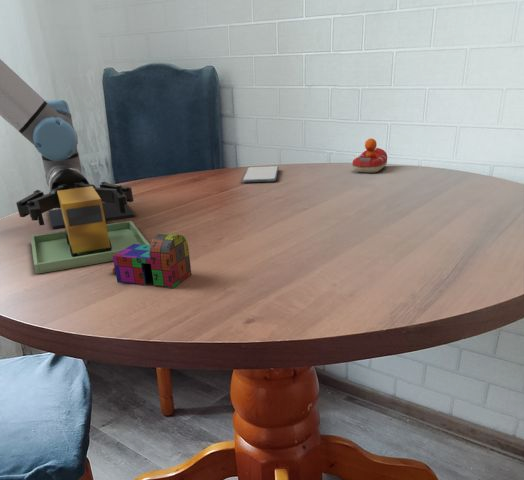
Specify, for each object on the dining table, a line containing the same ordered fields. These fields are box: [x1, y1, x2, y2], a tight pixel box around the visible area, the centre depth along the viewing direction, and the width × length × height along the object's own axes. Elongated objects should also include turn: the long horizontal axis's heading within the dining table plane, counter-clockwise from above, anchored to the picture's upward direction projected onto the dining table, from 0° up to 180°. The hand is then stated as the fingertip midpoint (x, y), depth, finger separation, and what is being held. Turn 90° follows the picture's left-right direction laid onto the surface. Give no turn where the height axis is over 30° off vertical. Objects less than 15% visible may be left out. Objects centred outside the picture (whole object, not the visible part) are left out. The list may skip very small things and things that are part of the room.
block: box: [112, 232, 192, 289], centre depth 79 cm, size 12×8×7 cm
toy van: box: [57, 186, 112, 256], centre depth 91 cm, size 7×11×9 cm, turn 22°
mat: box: [48, 202, 135, 230], centre depth 114 cm, size 16×14×1 cm
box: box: [30, 220, 151, 275], centre depth 93 cm, size 18×17×2 cm
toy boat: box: [351, 138, 388, 174], centre depth 139 cm, size 8×12×8 cm, turn 155°
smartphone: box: [242, 165, 279, 183], centre depth 139 cm, size 8×1×15 cm
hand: (82, 211), depth 92 cm, fingers open, 13 cm apart
